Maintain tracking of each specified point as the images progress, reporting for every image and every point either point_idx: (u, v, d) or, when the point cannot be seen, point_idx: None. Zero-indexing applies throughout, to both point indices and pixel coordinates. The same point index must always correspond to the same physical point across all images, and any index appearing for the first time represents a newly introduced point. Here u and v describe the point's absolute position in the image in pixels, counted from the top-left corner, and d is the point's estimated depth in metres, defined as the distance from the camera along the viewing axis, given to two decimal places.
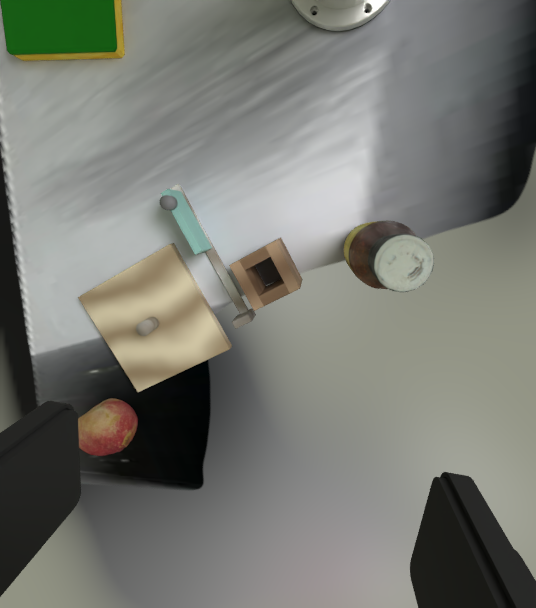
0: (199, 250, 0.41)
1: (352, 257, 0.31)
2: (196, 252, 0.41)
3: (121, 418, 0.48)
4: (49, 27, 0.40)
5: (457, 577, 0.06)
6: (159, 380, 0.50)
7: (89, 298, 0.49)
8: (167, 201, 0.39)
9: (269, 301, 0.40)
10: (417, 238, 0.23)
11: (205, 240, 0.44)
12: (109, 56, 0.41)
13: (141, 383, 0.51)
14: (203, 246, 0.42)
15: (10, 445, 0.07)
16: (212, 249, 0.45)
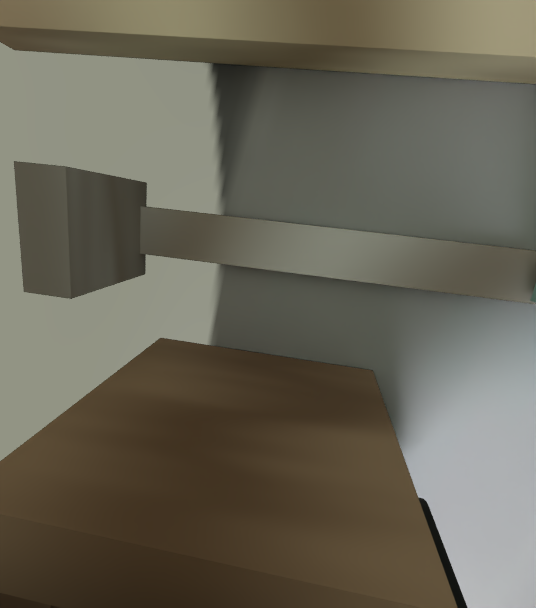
0: None
1: None
2: None
3: None
4: None
5: None
6: None
7: None
8: None
9: None
10: None
11: None
12: None
13: None
14: None
15: None
16: (518, 292, 0.08)
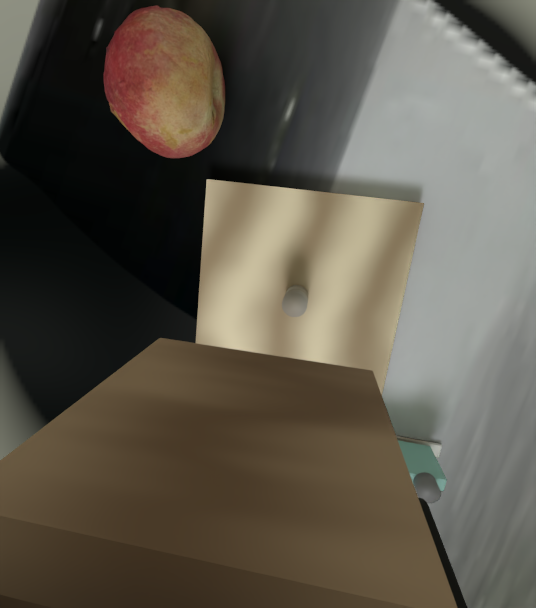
0: None
1: None
2: None
3: (167, 148, 0.22)
4: None
5: None
6: (205, 234, 0.27)
7: (406, 221, 0.25)
8: (429, 495, 0.25)
9: None
10: None
11: None
12: None
13: (217, 198, 0.27)
14: None
15: None
16: None
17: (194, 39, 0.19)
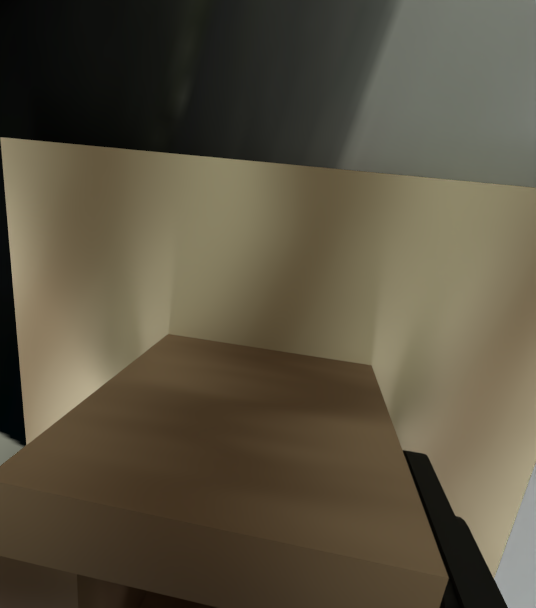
0: None
1: None
2: None
3: None
4: None
5: None
6: (19, 282, 0.11)
7: None
8: None
9: (10, 601, 0.05)
10: None
11: None
12: None
13: (35, 189, 0.10)
14: None
15: None
16: None
17: None
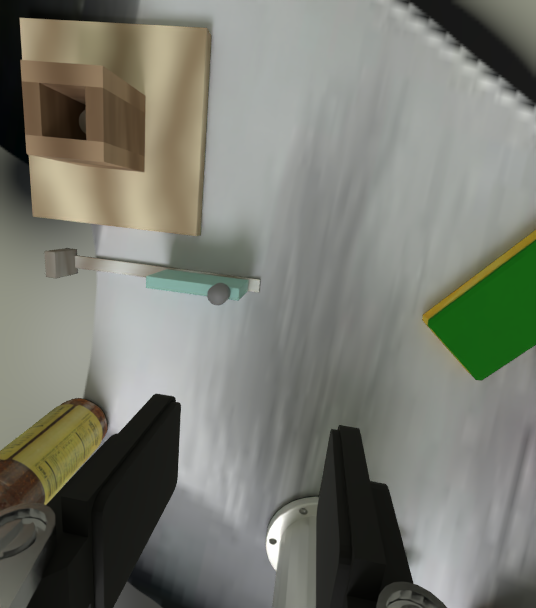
0: (148, 284, 0.29)
1: None
2: (148, 279, 0.29)
3: None
4: (530, 283, 0.28)
5: (329, 503, 0.08)
6: None
7: (194, 47, 0.27)
8: (217, 297, 0.28)
9: (25, 95, 0.24)
10: None
11: None
12: (436, 307, 0.30)
13: (31, 36, 0.29)
14: None
15: (142, 431, 0.08)
16: None
17: None
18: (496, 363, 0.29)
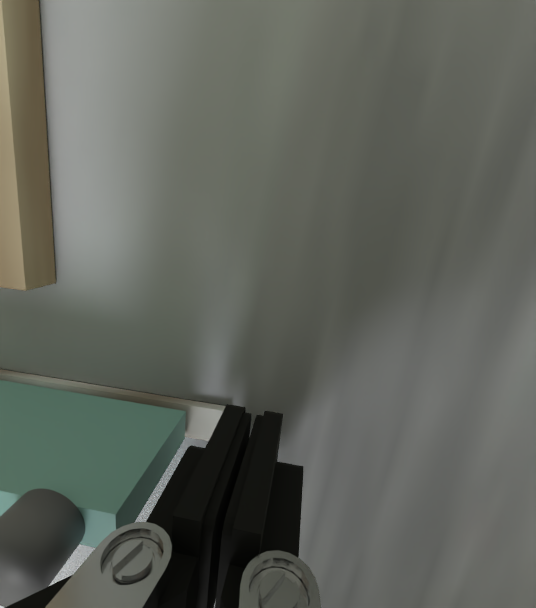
0: None
1: None
2: None
3: None
4: None
5: None
6: None
7: None
8: (5, 581, 0.06)
9: None
10: None
11: None
12: None
13: None
14: None
15: (228, 445, 0.08)
16: None
17: None
18: None
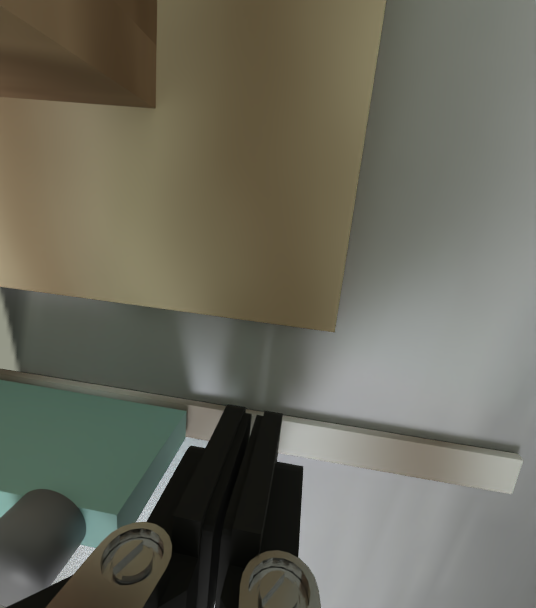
0: None
1: None
2: None
3: None
4: None
5: None
6: None
7: None
8: (6, 582, 0.06)
9: None
10: None
11: None
12: None
13: None
14: None
15: (228, 445, 0.08)
16: None
17: None
18: None
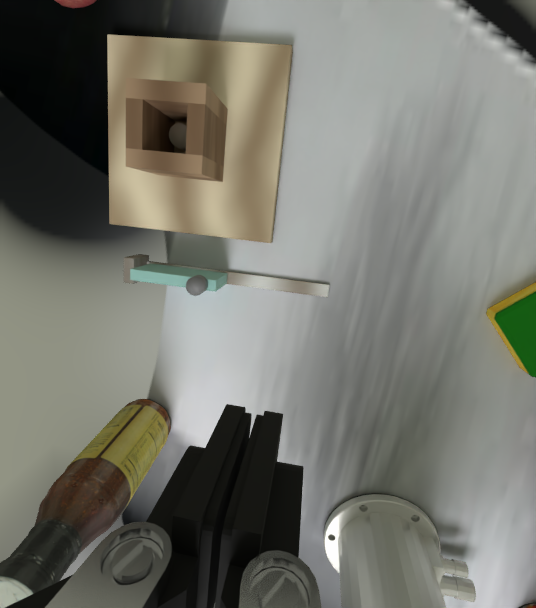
0: (132, 277, 0.32)
1: (92, 486, 0.27)
2: (132, 272, 0.31)
3: None
4: None
5: None
6: (110, 88, 0.31)
7: (278, 63, 0.29)
8: (195, 288, 0.30)
9: (128, 110, 0.26)
10: None
11: None
12: (503, 302, 0.32)
13: (118, 52, 0.30)
14: None
15: (228, 445, 0.08)
16: (235, 282, 0.35)
17: None
18: None
